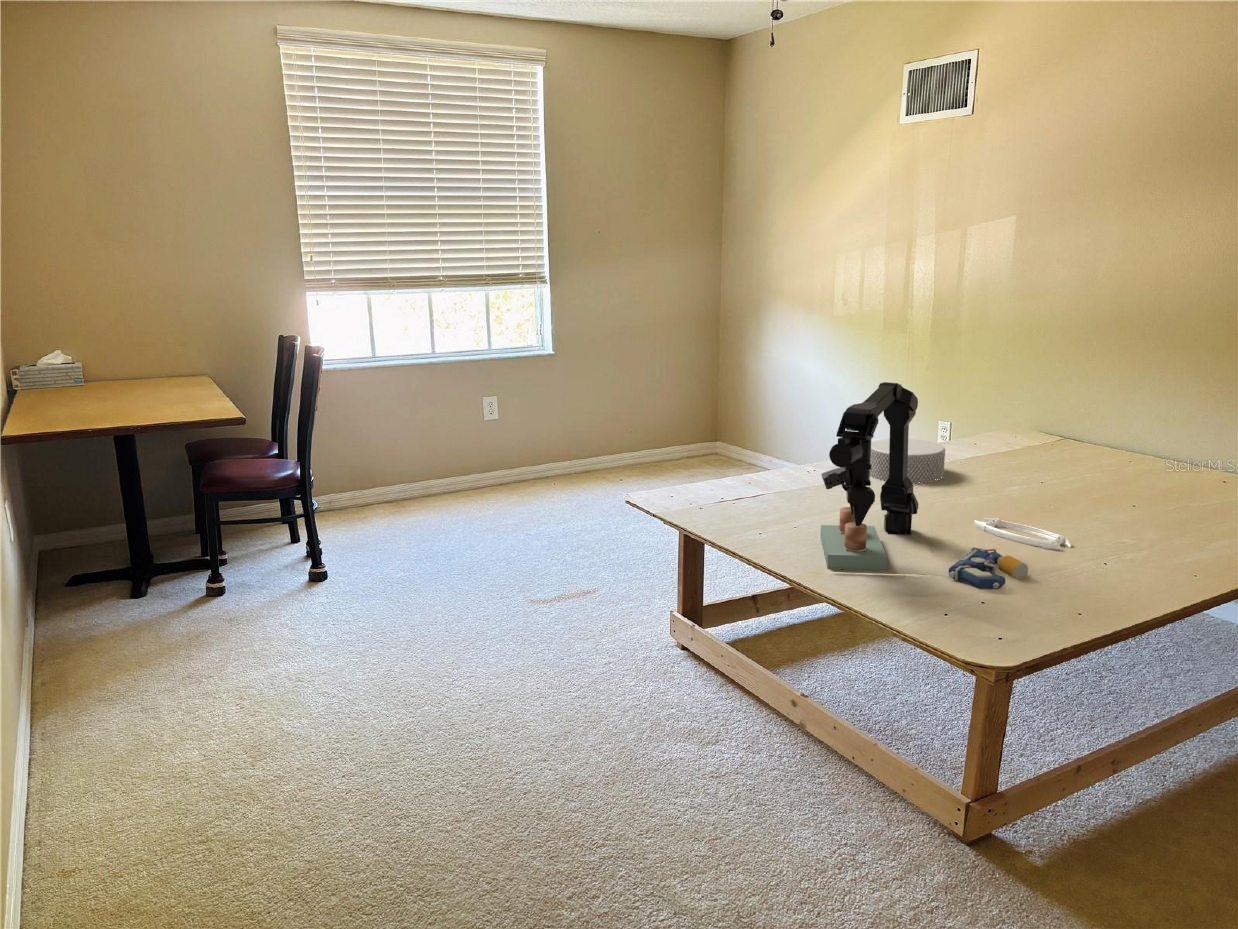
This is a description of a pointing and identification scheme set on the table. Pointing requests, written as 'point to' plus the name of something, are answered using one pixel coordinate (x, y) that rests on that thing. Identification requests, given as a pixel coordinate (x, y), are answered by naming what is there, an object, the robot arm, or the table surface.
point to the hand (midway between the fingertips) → (855, 519)
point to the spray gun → (986, 569)
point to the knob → (910, 460)
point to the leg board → (846, 559)
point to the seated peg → (845, 518)
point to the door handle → (1047, 544)
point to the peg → (855, 537)
